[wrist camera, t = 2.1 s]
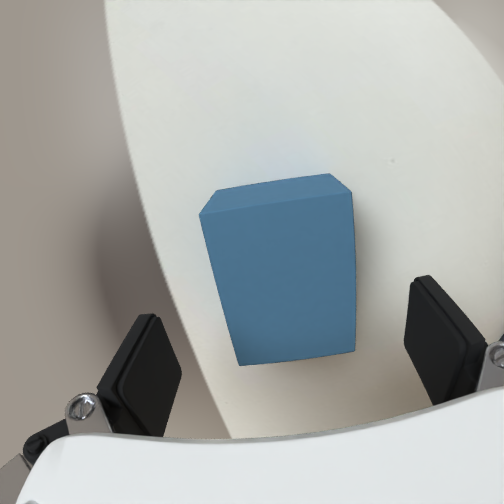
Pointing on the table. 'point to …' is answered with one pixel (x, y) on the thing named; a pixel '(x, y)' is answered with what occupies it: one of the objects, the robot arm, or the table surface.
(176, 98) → the table surface
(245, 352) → the blue rectangular block
